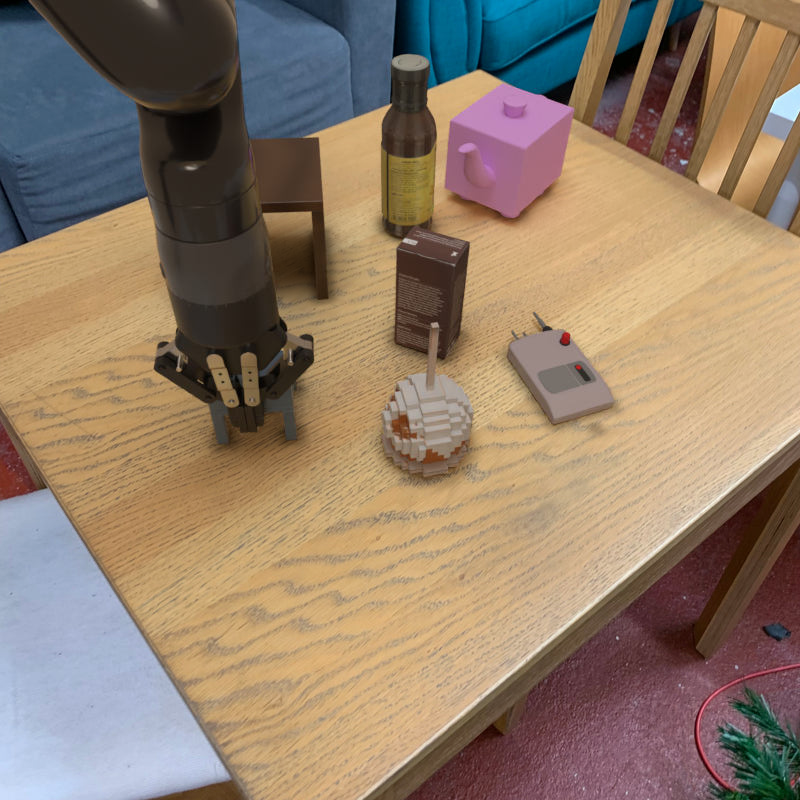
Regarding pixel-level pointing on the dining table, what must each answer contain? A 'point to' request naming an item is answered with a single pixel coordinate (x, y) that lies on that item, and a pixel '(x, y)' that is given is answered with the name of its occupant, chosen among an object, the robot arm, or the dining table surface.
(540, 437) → the dining table surface
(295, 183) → the desk
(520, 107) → the teapot
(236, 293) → the robot arm
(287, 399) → the chair
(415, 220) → the sauce bottle
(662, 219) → the dining table surface
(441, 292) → the box
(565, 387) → the remote control
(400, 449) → the candy apple
